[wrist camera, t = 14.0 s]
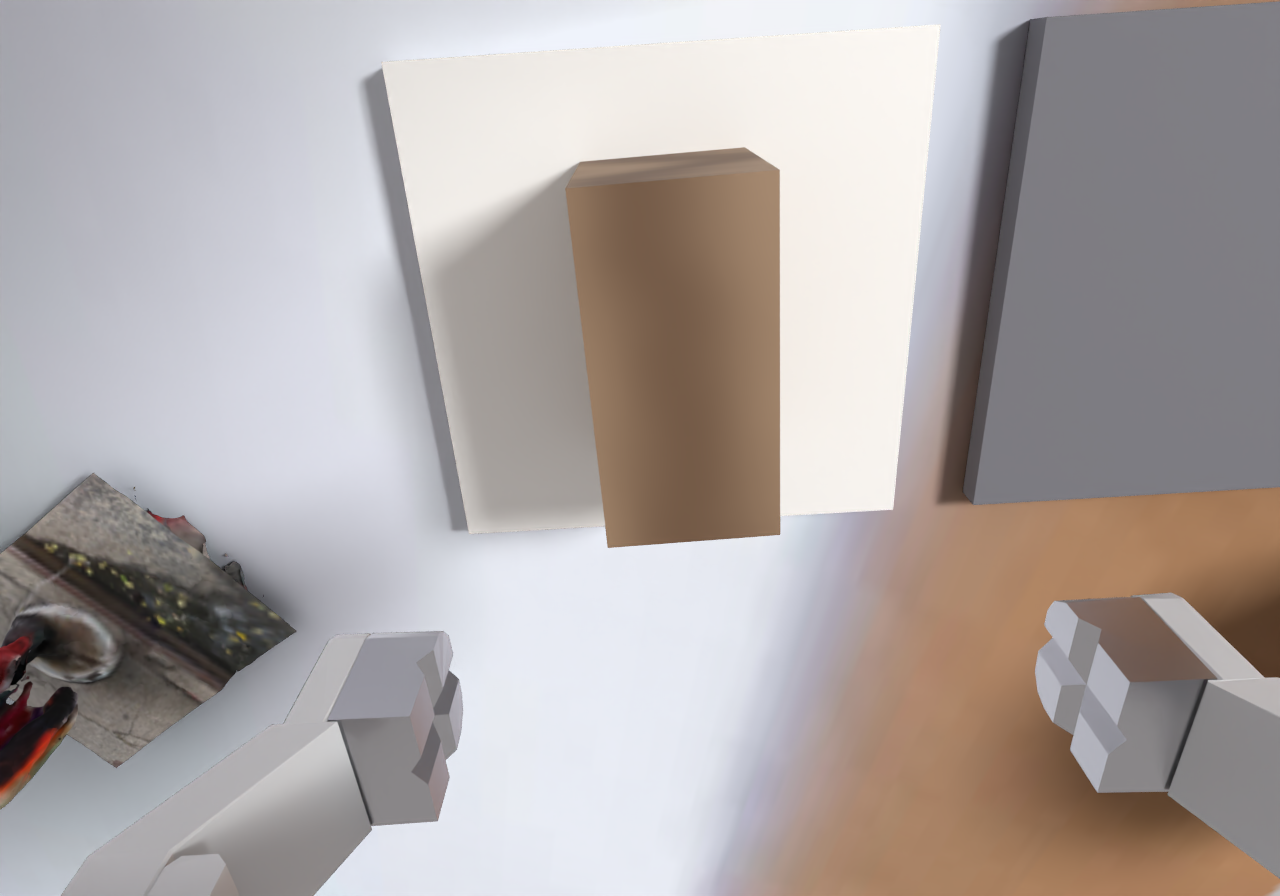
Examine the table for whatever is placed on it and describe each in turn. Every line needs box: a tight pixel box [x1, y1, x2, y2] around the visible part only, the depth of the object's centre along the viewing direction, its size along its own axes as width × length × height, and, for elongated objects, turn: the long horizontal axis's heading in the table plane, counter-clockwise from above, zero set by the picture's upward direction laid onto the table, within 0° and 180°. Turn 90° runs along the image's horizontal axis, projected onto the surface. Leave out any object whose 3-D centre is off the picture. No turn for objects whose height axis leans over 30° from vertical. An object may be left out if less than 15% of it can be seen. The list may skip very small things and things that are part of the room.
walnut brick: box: [565, 147, 780, 548], centre depth 23 cm, size 5×10×6 cm, turn 5°
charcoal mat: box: [963, 2, 1280, 505], centre depth 26 cm, size 16×16×1 cm
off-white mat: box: [381, 24, 941, 534], centre depth 26 cm, size 16×16×1 cm
